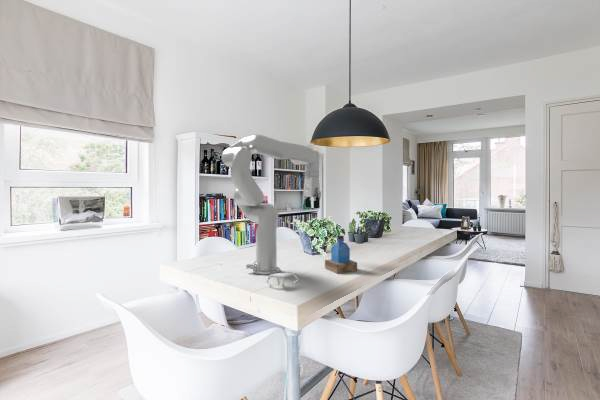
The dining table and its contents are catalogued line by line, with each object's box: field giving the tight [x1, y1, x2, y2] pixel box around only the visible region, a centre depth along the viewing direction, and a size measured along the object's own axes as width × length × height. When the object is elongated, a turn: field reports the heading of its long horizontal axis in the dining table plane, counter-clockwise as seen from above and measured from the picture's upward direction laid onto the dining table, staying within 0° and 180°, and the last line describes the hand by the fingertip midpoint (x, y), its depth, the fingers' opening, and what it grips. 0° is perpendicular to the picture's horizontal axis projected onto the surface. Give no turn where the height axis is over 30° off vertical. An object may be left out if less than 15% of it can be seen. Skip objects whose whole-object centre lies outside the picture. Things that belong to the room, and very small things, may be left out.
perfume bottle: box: [331, 235, 351, 263], centre depth 157 cm, size 6×6×12 cm
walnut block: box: [324, 258, 358, 274], centre depth 157 cm, size 11×11×4 cm
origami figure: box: [266, 272, 300, 290], centre depth 131 cm, size 12×8×5 cm
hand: (312, 207), depth 172 cm, fingers open, 9 cm apart
